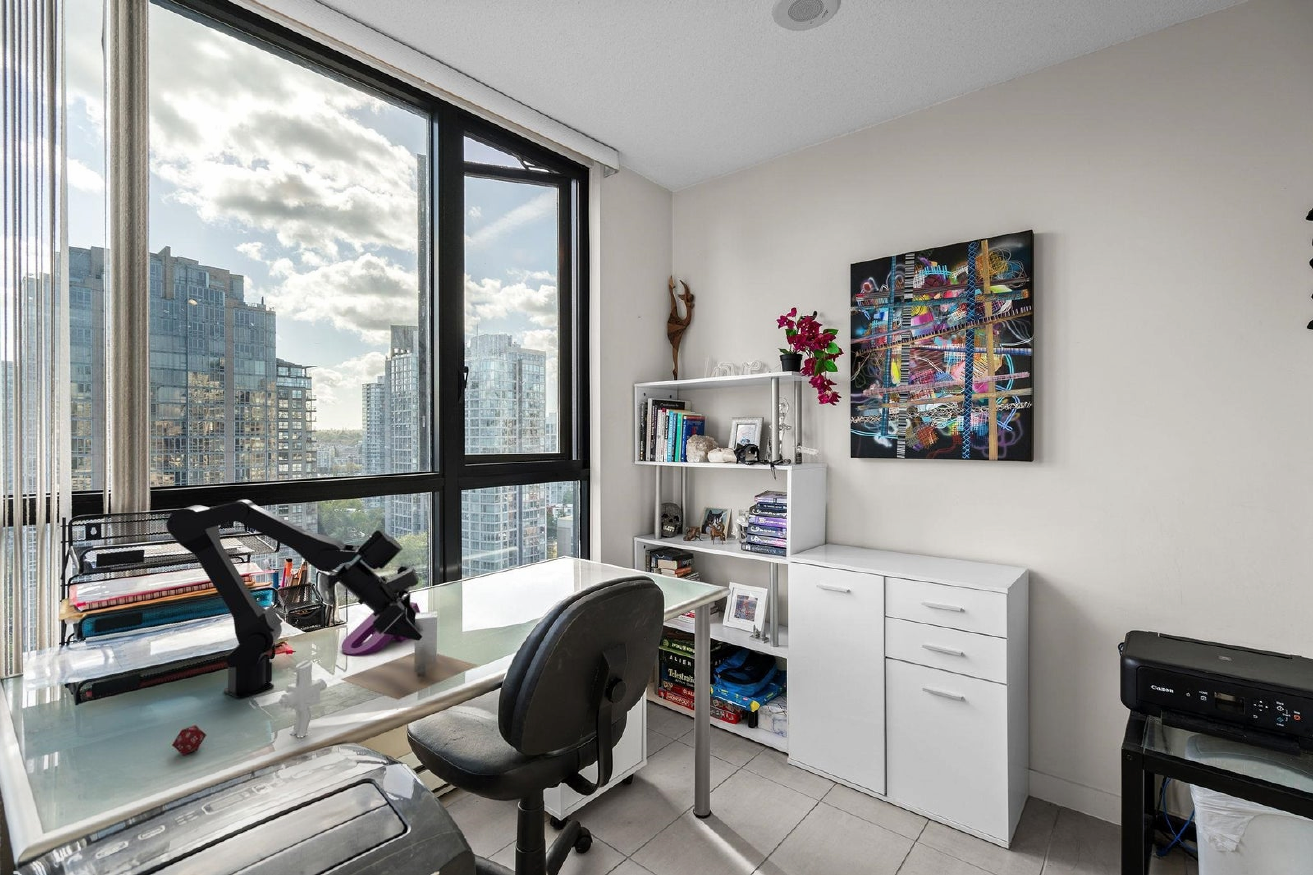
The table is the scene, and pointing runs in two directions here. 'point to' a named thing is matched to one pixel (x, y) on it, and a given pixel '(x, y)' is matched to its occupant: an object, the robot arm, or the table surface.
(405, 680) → the stub board
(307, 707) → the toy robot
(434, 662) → the block
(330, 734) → the table surface
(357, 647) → the mounting bracket
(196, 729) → the dice
